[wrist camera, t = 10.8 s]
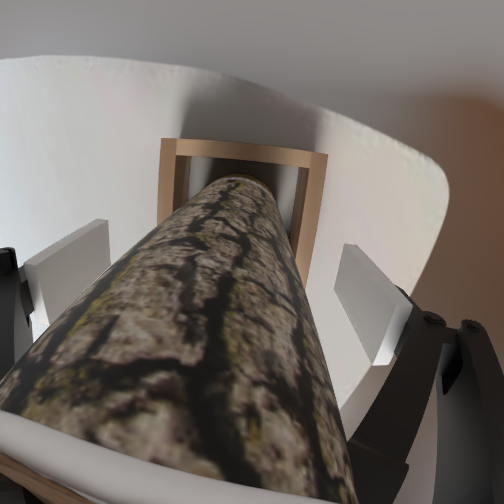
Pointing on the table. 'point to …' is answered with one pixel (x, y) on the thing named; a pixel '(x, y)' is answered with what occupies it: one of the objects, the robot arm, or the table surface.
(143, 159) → the table surface
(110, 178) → the table surface
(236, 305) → the paper tube
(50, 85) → the table surface
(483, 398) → the robot arm
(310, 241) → the holder
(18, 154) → the table surface
